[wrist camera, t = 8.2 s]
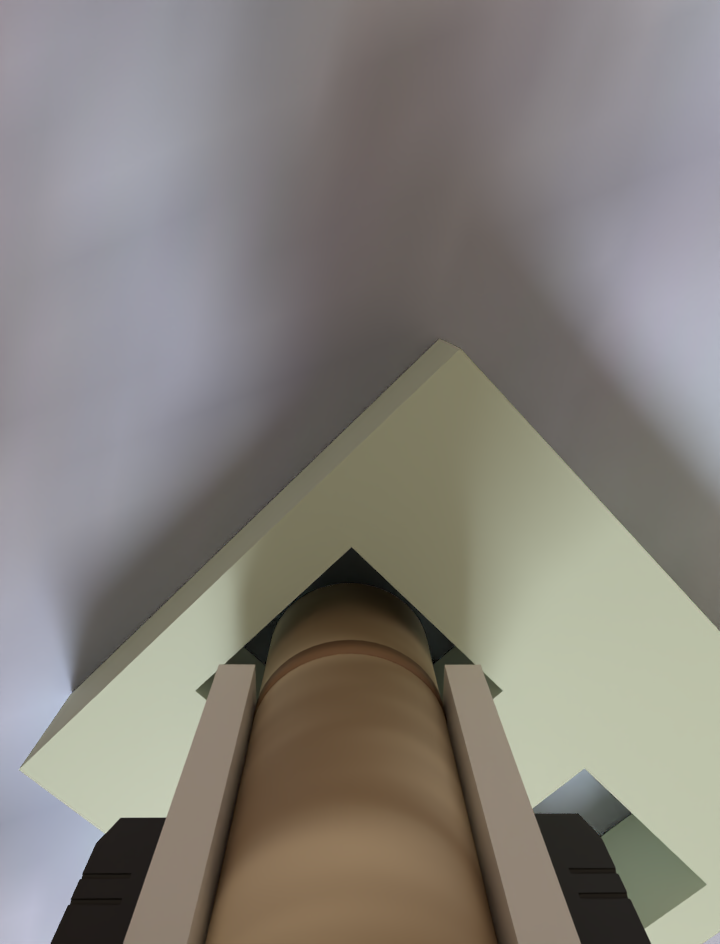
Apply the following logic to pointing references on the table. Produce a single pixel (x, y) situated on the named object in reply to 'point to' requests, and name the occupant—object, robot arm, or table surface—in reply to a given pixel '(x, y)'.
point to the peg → (350, 790)
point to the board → (449, 631)
